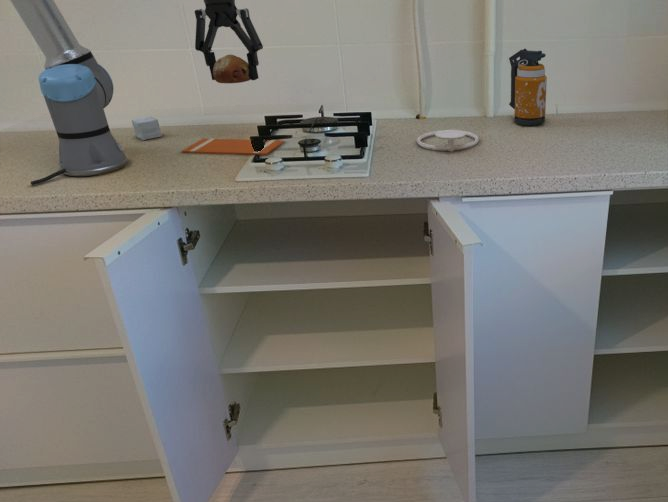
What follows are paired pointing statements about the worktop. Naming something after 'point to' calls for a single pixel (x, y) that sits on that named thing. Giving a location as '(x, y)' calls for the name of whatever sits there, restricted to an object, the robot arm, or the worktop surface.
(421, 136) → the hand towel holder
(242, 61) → the bread roll
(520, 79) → the canister
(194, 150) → the tea towel
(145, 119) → the small box
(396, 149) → the worktop surface
